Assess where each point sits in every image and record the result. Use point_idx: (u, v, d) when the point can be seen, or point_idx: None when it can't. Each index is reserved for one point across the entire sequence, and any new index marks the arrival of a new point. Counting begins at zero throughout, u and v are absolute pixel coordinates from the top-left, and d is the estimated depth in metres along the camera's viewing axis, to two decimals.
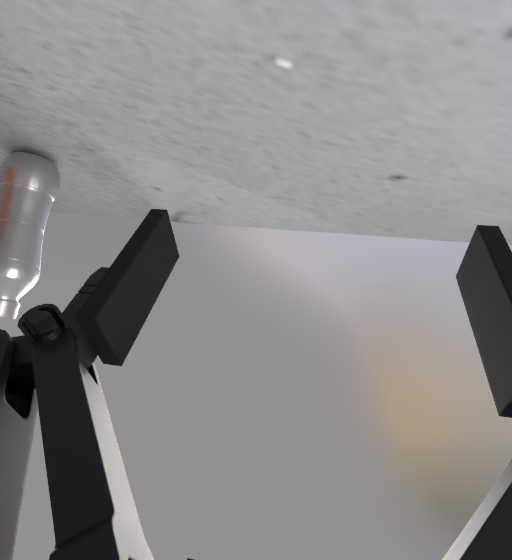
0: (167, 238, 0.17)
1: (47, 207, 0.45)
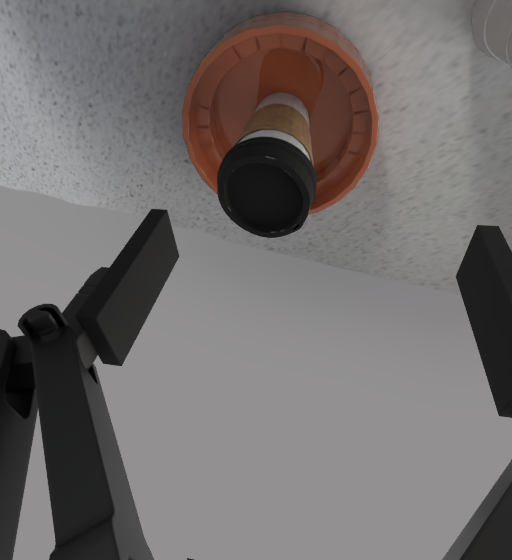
0: (167, 238, 0.17)
1: None
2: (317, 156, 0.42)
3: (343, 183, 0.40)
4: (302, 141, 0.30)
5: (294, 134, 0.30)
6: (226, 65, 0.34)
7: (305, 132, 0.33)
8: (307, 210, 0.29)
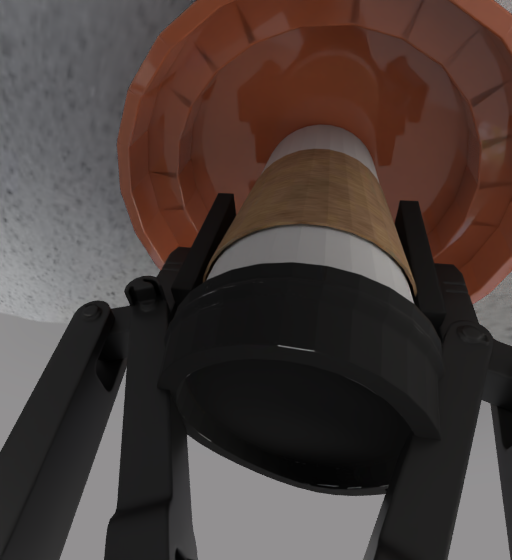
0: None
1: None
2: None
3: None
4: (384, 244, 0.11)
5: (360, 230, 0.11)
6: (191, 89, 0.16)
7: (382, 209, 0.13)
8: None
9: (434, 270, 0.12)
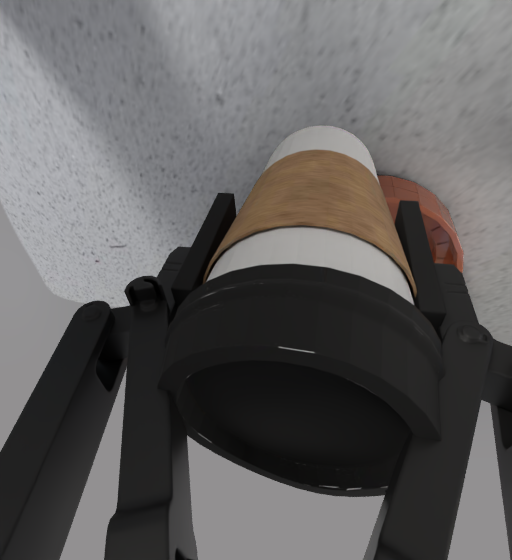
0: (233, 221, 0.17)
1: None
2: None
3: None
4: (384, 245, 0.11)
5: (360, 231, 0.11)
6: None
7: (382, 210, 0.13)
8: None
9: (434, 270, 0.12)
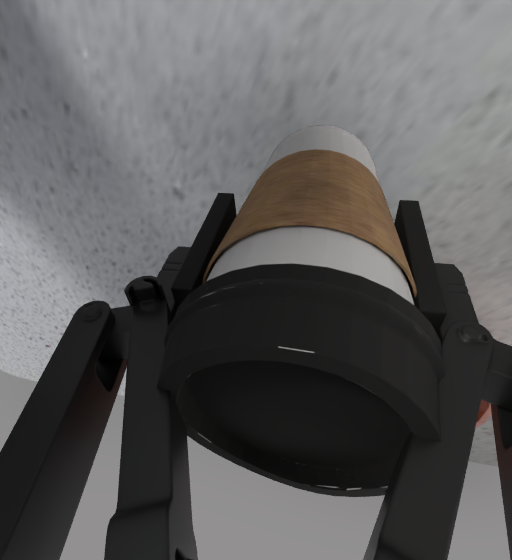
0: None
1: None
2: None
3: None
4: (384, 245, 0.11)
5: (360, 231, 0.11)
6: None
7: (382, 210, 0.13)
8: None
9: (434, 270, 0.12)
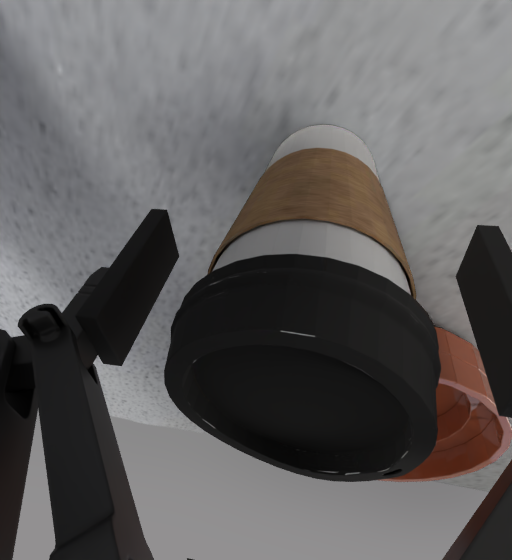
0: (167, 238, 0.17)
1: None
2: None
3: (458, 455, 0.33)
4: (383, 239, 0.11)
5: (360, 225, 0.11)
6: None
7: (381, 206, 0.14)
8: (427, 450, 0.10)
9: None
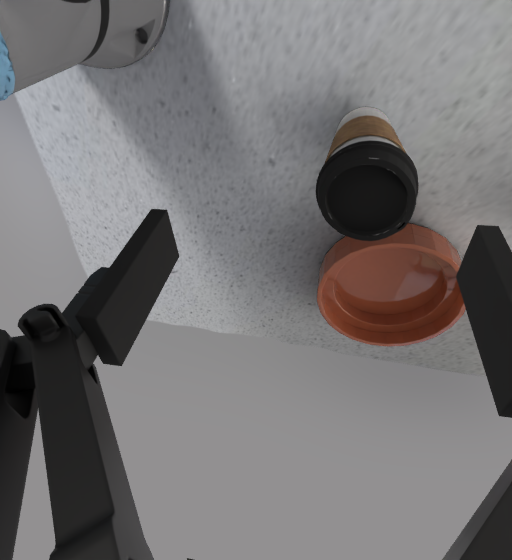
0: (167, 238, 0.17)
1: None
2: (416, 298, 0.54)
3: (441, 321, 0.52)
4: (397, 143, 0.31)
5: (389, 137, 0.31)
6: None
7: (396, 136, 0.33)
8: (413, 207, 0.29)
9: None
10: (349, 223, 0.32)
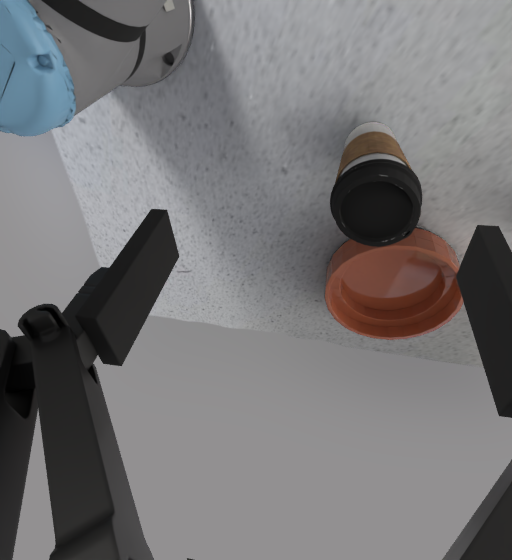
0: (167, 238, 0.17)
1: None
2: (416, 295, 0.58)
3: (439, 315, 0.56)
4: (403, 159, 0.35)
5: (396, 154, 0.34)
6: None
7: (401, 152, 0.37)
8: (417, 217, 0.33)
9: None
10: (360, 231, 0.36)
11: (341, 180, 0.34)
